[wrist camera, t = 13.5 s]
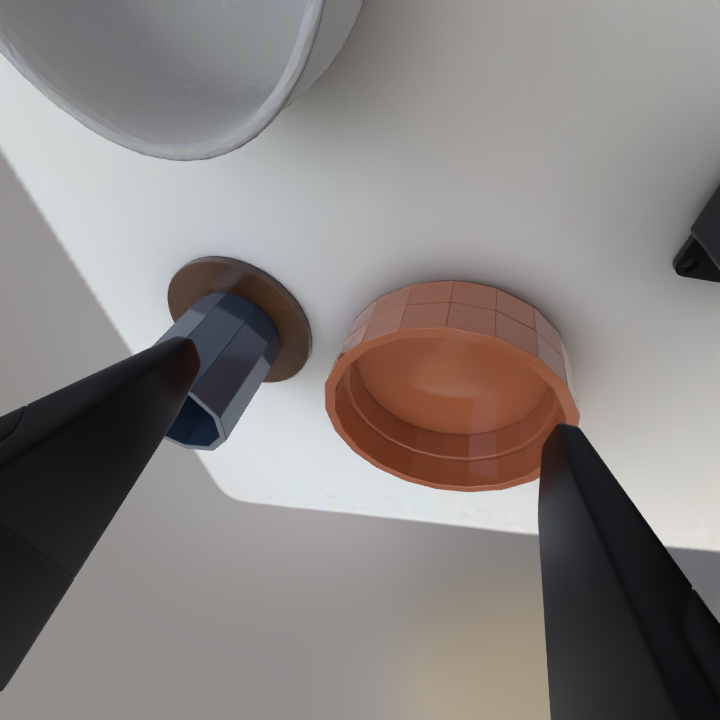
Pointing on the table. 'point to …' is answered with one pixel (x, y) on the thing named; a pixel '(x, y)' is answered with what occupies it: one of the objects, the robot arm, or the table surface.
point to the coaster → (256, 288)
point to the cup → (222, 366)
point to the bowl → (451, 386)
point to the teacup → (174, 65)
